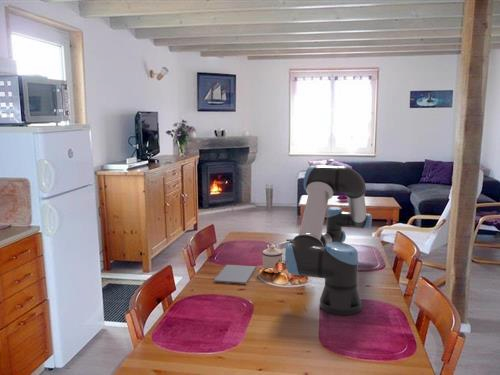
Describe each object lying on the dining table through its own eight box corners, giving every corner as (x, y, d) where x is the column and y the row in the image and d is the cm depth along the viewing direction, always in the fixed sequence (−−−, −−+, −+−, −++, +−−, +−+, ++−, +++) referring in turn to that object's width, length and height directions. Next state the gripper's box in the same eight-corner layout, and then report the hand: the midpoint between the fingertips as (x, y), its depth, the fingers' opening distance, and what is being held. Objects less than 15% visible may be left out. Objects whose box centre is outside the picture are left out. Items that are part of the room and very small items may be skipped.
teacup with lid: (280, 275, 195) (280, 249, 193) (260, 273, 197) (260, 248, 195) (284, 266, 206) (285, 242, 204) (266, 264, 208) (265, 240, 206)
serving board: (246, 284, 184) (246, 282, 184) (214, 282, 187) (214, 280, 187) (255, 268, 203) (255, 266, 203) (226, 266, 206) (226, 264, 206)
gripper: (339, 254, 210) (307, 264, 197) (302, 242, 229) (271, 251, 217) (339, 239, 208) (307, 248, 196) (303, 229, 228) (271, 236, 215)
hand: (288, 249), depth 206 cm, fingers open, 13 cm apart
